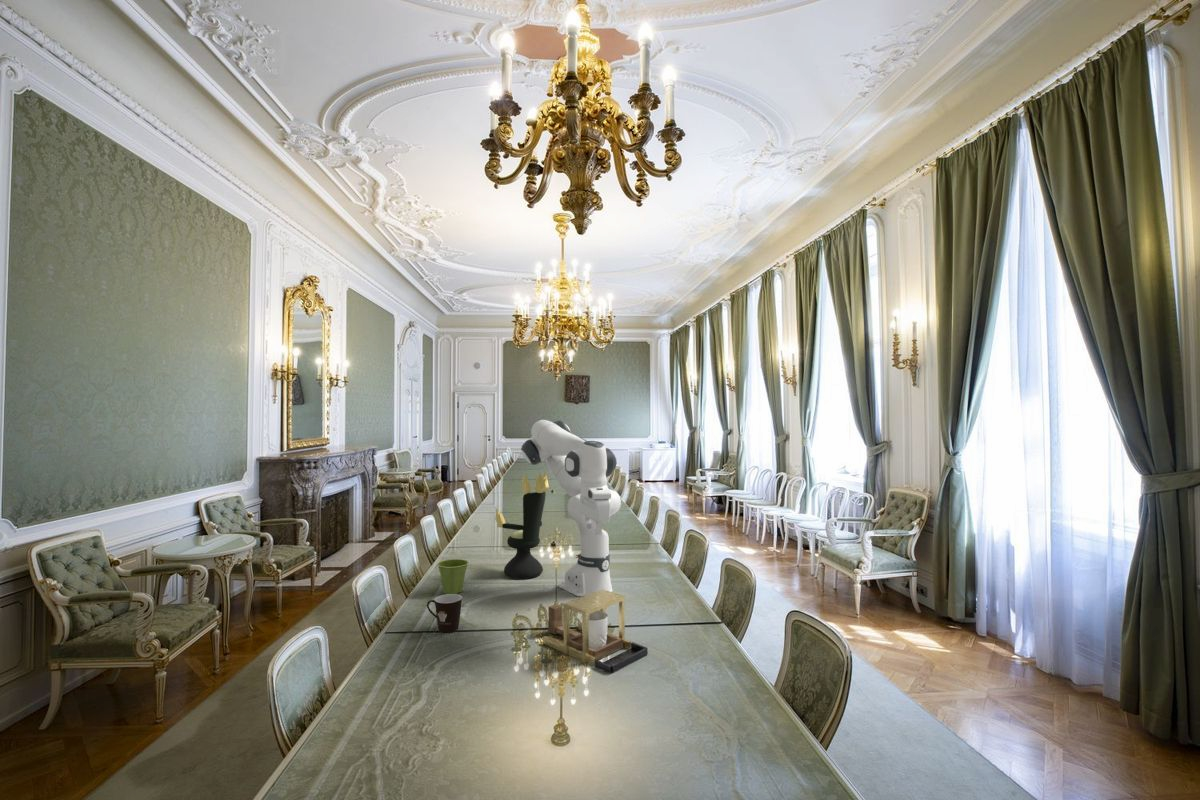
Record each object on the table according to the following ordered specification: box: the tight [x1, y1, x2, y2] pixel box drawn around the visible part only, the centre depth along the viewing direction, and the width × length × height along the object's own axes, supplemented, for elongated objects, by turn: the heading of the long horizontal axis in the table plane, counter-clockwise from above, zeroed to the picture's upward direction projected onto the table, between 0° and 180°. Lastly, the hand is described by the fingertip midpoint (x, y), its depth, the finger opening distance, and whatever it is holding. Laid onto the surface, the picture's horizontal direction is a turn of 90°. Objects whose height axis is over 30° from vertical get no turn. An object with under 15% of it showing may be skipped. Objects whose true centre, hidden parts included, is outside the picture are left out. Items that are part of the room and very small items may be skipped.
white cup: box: [581, 610, 609, 650], centre depth 167 cm, size 8×8×10 cm
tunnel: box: [543, 590, 648, 674], centre depth 167 cm, size 28×17×15 cm, turn 47°
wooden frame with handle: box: [547, 604, 624, 661], centre depth 171 cm, size 25×12×8 cm, turn 47°
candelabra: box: [495, 471, 549, 580], centre depth 239 cm, size 19×22×45 cm
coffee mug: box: [426, 593, 463, 634], centre depth 182 cm, size 12×9×10 cm
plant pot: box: [436, 558, 469, 594], centre depth 217 cm, size 12×12×11 cm
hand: (593, 531), depth 186 cm, fingers open, 8 cm apart
